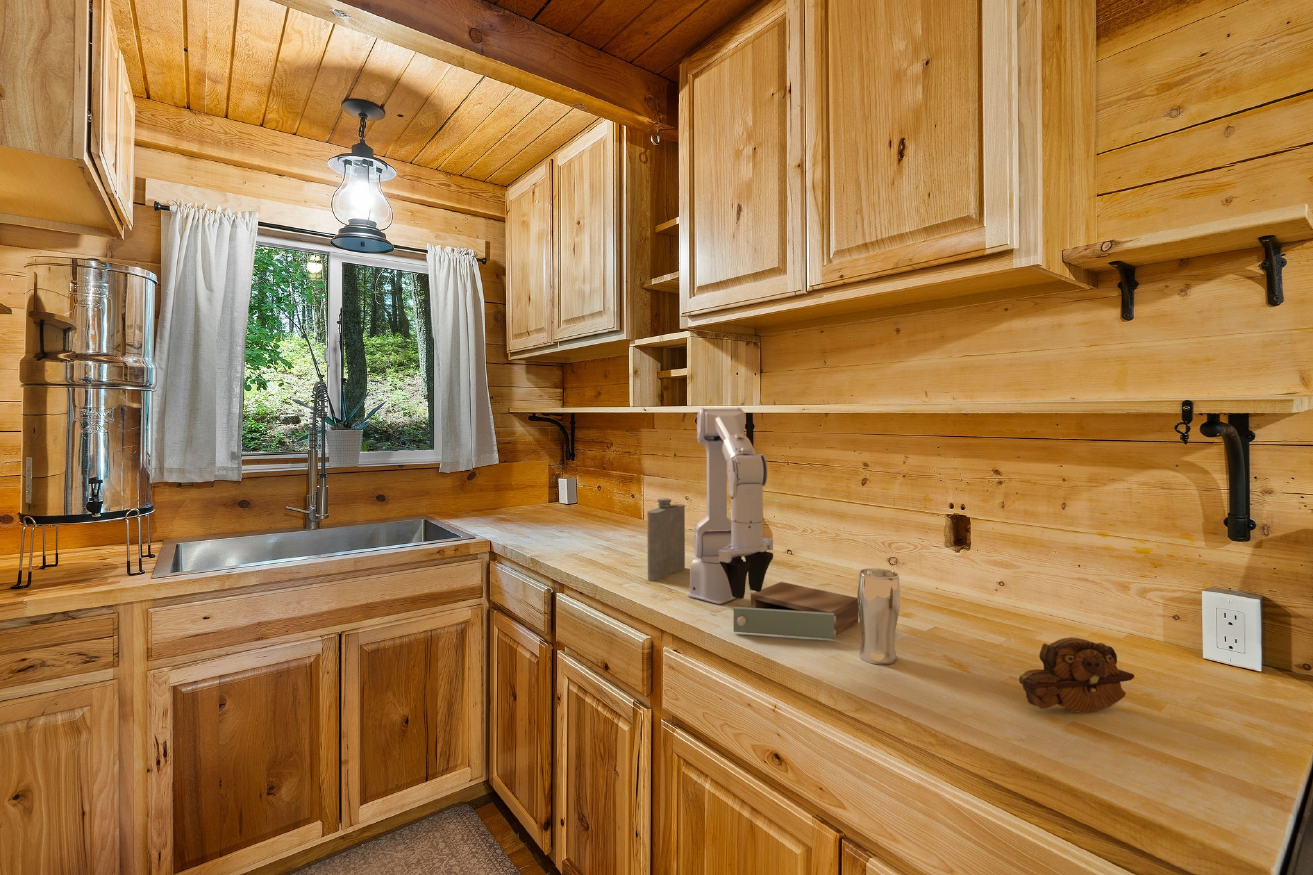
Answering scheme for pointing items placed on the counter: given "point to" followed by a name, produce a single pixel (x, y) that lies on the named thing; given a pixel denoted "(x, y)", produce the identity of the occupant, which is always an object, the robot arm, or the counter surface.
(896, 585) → the beer glass
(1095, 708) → the wooden carving
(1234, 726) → the counter surface
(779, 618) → the cabinet door
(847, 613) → the cabinet
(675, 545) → the hip flask
